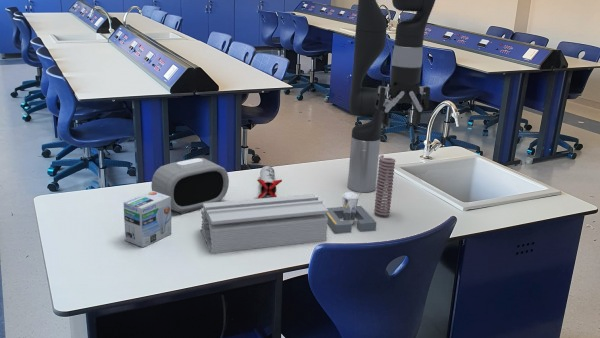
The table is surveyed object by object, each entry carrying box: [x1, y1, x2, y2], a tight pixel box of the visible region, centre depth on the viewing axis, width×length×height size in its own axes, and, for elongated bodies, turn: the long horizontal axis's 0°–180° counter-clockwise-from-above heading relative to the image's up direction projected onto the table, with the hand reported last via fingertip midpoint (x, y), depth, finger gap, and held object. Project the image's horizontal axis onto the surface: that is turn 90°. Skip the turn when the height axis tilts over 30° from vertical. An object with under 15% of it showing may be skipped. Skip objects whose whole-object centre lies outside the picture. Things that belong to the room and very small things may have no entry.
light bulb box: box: [123, 190, 172, 248], centre depth 155 cm, size 11×7×11 cm, turn 148°
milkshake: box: [341, 191, 362, 226], centre depth 170 cm, size 5×5×10 cm
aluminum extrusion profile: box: [200, 193, 328, 254], centre depth 160 cm, size 14×31×10 cm, turn 109°
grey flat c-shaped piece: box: [324, 205, 377, 234], centre depth 171 cm, size 12×12×3 cm
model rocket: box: [256, 165, 283, 199], centre depth 193 cm, size 11×23×10 cm
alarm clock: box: [151, 157, 230, 214], centre depth 176 cm, size 21×10×13 cm, turn 131°
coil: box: [373, 154, 396, 216], centre depth 175 cm, size 5×5×18 cm
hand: (400, 125), depth 159 cm, fingers open, 8 cm apart
